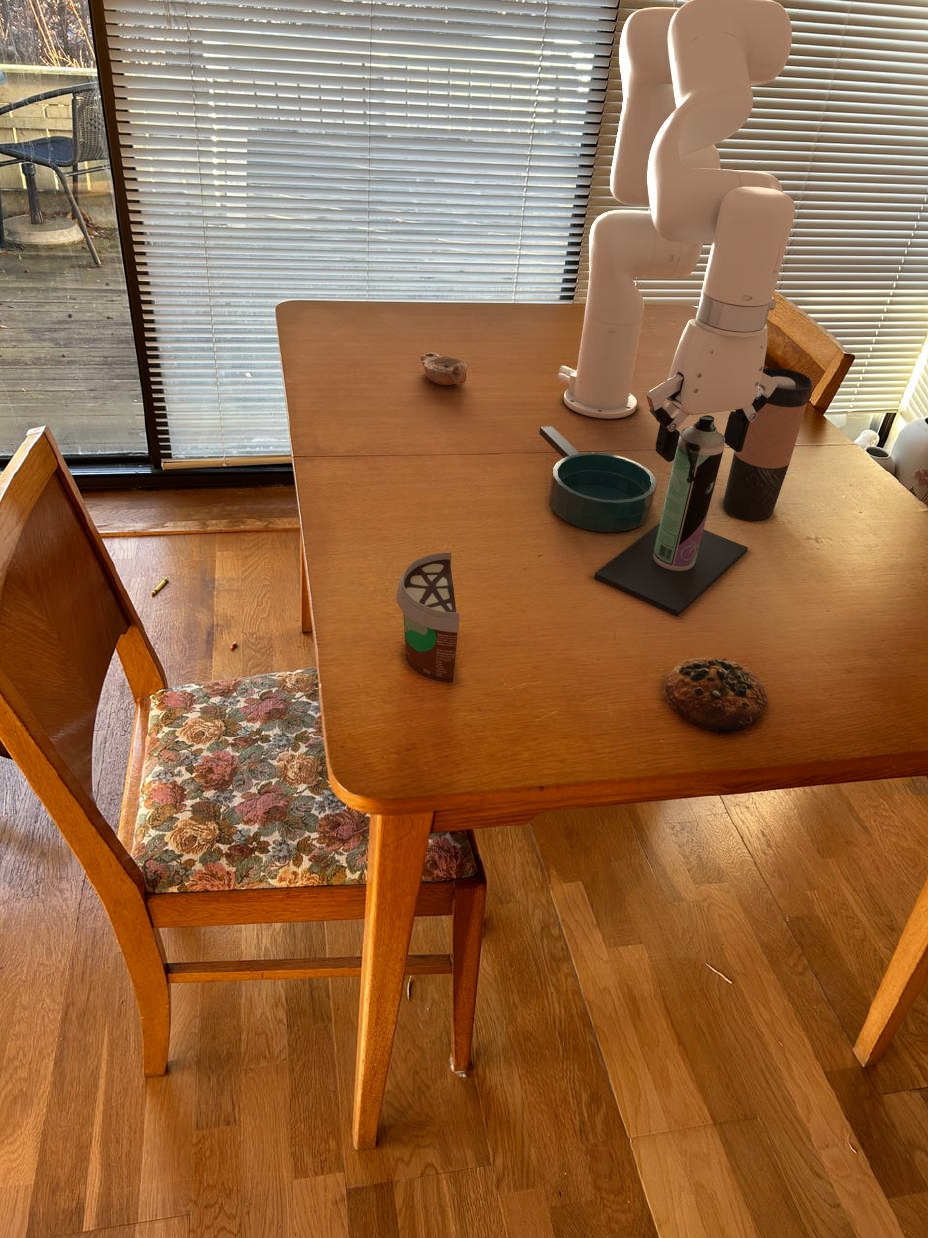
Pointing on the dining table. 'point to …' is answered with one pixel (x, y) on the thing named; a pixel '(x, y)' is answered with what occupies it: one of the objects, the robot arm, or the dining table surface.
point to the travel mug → (767, 449)
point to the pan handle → (557, 441)
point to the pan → (602, 492)
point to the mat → (670, 571)
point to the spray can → (689, 495)
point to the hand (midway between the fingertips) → (698, 451)
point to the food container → (430, 616)
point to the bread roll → (715, 694)
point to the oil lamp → (444, 369)
